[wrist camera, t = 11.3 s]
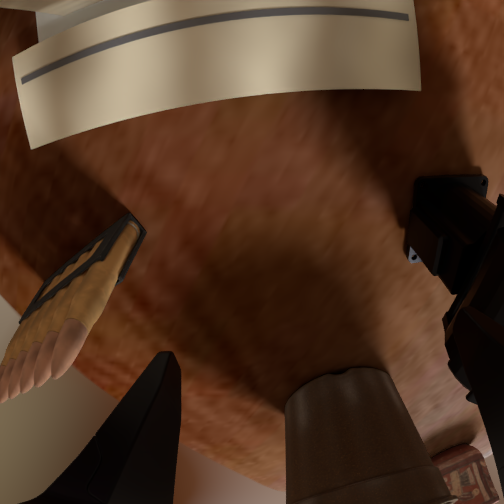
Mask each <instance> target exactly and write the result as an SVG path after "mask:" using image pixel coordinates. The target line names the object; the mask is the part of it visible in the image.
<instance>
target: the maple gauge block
mask: <svg viewBox="0 0 504 504" xmlns="http://www.w3.org/2000/svg"><path fill="white" fill-rule="evenodd" d="M100 1H103V0H0V8H11V9H20V10H28V11H36V12H42V13H49V14H55V15H60V16H66V15H68V14H70V13H73V12H75V11H77V10H80V9H82V8H85V7H87V6H90V5H92V4H95V3H97V2H100Z"/></svg>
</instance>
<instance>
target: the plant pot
mask: <svg viewBox="0 0 504 504" xmlns="http://www.w3.org/2000/svg"><path fill="white" fill-rule="evenodd" d="M285 441H286V504H453V503H455V502H456V501H457V500H458V498H457V496H456V495H451V493H450V491H449V489H448V487H447V485H446V482H445V480H444V478H443V476H442V474H441V472H440V470H439V468H438V467H435V466H434V465H433V463H432V461H431V458H430V456H429V454H428V452H427V450H426V448H425V445H424V443H423V441H422V439H421V437H420V435H419V433H418V431H417V429H416V427H415V425H414V423H413V421H412V419H411V417H410V415H409V413H408V411H407V409H406V407H405V405H404V403H403V401H402V399H401V397H400V395H399V393H398V391H397V389H396V387H395V384H394V382H393V380H392V378H391V377H390V376H389V375H388V374H387V373H385V372H384V371H381V370H378V369H374V368H364V367H362V368H350V369H348V370H347V371H346V372H345V373H343V374H339V375H332V374H326V375H323V376H321V377H319V378H316V379H314V380H312V381H310V382H309V383H307V384H305V385H304V386H302V387H301V388H299V389H298V390H297V391H296V392H295V393H294V394H293V395H292V396H291V397H290V398H289V399H288V401H287V403H286V405H285Z"/></svg>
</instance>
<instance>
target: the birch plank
mask: <svg viewBox="0 0 504 504" xmlns="http://www.w3.org/2000/svg"><path fill="white" fill-rule="evenodd" d="M12 60H13V67H14V74H15V80H16V85H17V91H18V96H19V101H20V106H21V110H22V115H23V119H24V124H25V128H26V132H27V136H28V140H29V143H30V147H31V150H32V149H34V148H37V147H40V146H42V145H45V144H48V143H51V142H53V141H56V140H59V139H62V138H65V137H68V136H71V135H74V134H77V133H80V132H83V131H87V130H90V129H93V128H96V127H100V126H103V125H107V124H110V123H114V122H118V121H121V120H125V119H129V118H133V117H137V116H141V115H145V114H149V113H154V112H158V111H163V110H167V109H172V108H177V107H182V106H187V105H193V104H198V103H204V102H210V101H216V100H223V99H230V98H237V97H244V96H253V95H261V94H271V93H282V92H294V91H309V90H331V89H392V90H413V91H421V75H420V58H419V45H418V34H417V25H416V16H415V9H414V2H413V0H150V1H146V2H143V3H139V4H136V5H133V6H129V7H126V8H123V9H120V10H117V11H114V12H111V13H108V14H105V15H102V16H100V17H97V18H94V19H92V20H89V21H87V22H84V23H82V24H79V25H77V26H74V27H72V28H70V29H67V30H65V31H63V32H61V33H58V34H56V35H54V36H52V37H50V38H48V39H46V40H44V41H42V42H40V43H38V44H36V45H34V46H32V47H30V48H28V49H26V50H24V51H23V52H21V53H19V54H17V55H15V56H14V57H12Z"/></svg>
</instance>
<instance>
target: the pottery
mask: <svg viewBox="0 0 504 504" xmlns="http://www.w3.org/2000/svg"><path fill="white" fill-rule="evenodd" d="M431 461H432V463H433V465H434V466H435V467H438V468H439V470H440V472H441V474H442V476H443V478H444V480H445V482H446V485H447V487H448V489H449V491H450V493H451V495H456V496H457V498H458V500H457V501H456V502H455V503H453V504H495V503H496V502H498V501H499V496H498V494H497V491H496V489H495V487H494V485H493V482H492V480H491V477H490V475H489V472H488V469H487V466H486V463H485V460H484V458H483V456H482V454H481V452H480V451H479V450H478V449H476V448H475V447H473V446H470V445H467V444H461V445H458V446H455V447H452V448H450V449H448V450H446V451H444V452H441V453H440V454H438V455H436V456H434V457H432V458H431Z"/></svg>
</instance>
